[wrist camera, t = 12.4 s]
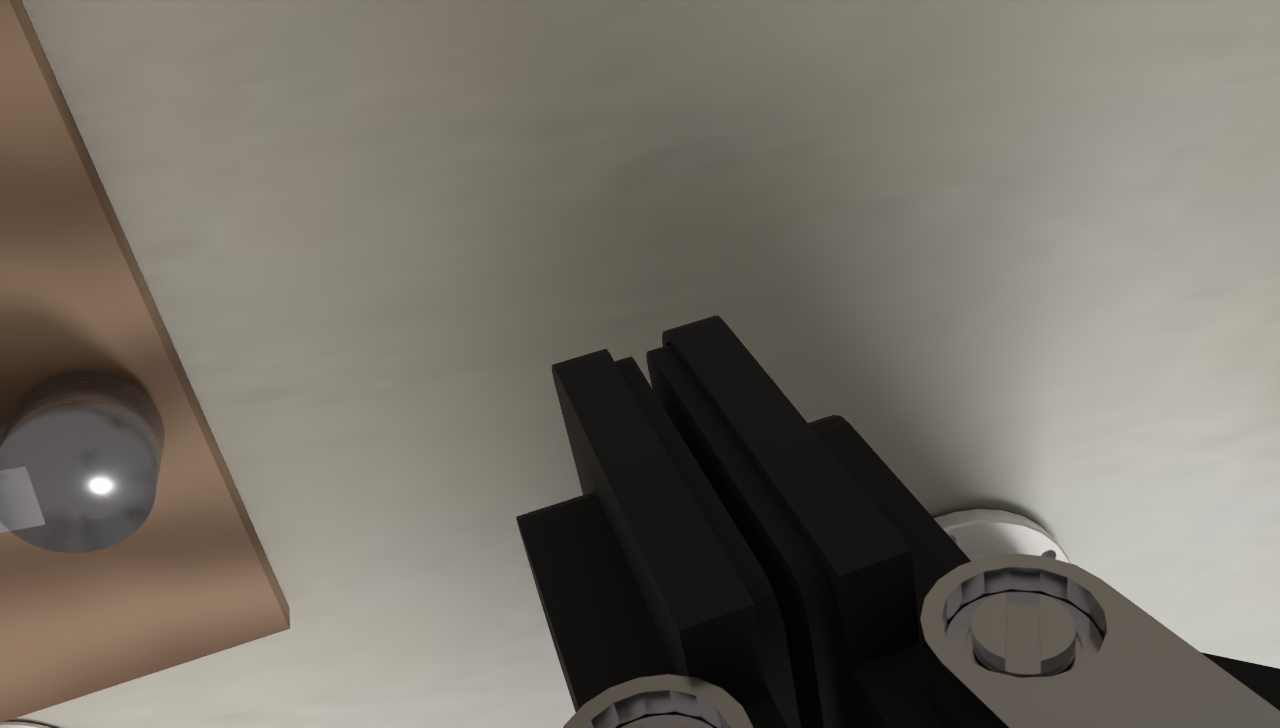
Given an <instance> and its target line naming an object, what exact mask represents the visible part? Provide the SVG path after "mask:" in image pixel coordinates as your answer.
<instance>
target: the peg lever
mask: <svg viewBox="0 0 1280 728" xmlns="http://www.w3.org/2000/svg"><path fill="white" fill-rule="evenodd" d="M164 440H165V430H164V425H163V421H162V418H161V416H160V413H159V412H158V410H157V408H156V406H155V405H154V404H153V402H152V401H151V400H150V399H149V398H148V397H147V396H146V395H145V394H144V393H143V392H142V391H141V390H139V389H138V388H137V387H135V386H134V385H132V384H130V383H129V382H126V381H124V380H122V379H120V378H117V377H114V376H111V375H107V374H103V373H97V372H71V373H65V374H61V375H57V376H54V377H51V378H49V379H47V380H44V381H42V382H40V383H39V384H37V385H36V386H34V387H33V388H32V389H30V390H29V391H28V392H27V393H26V394H25V395H24V396H23V397H22V398H21V399H20V401H19V402H18V404H17V405H16V407H15V409H14V411H13V414H12V416H11V419H10V421H9V423H8V425H1V426H0V533H2V532H7V531H11V532H12V533H13V534H14V535H16V536H17V537H19V538H20V539H22V540H24V541H26V542H28V543H30V544H32V545H35V546H37V547H40V548H43V549H47V550H51V551H57V552H64V553H84V552H91V551H96V550H101V549H104V548H107V547H110V546H113V545H115V544H117V543H119V542H121V541H123V540H125V539H126V538H128V537H129V536H131V535H132V534H133V533H134V532H136V531H137V530H138V529H139V528H140V527H141V526H142V524H143V523H144V522H145V520H146V519H147V518H148V516H149V514H150V512H151V510H152V508H153V505H154V501H155V496H156V490H157V484H158V478H159V472H160V465H161V459H162V453H163V447H164Z"/></svg>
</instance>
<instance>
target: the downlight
mask: <svg viewBox="0 0 1280 728" xmlns="http://www.w3.org/2000/svg"><path fill="white" fill-rule="evenodd" d="M0 728H51V727H47V726H44V725H39V724H34V723H26V722H1V723H0Z"/></svg>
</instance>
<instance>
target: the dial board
mask: <svg viewBox="0 0 1280 728" xmlns="http://www.w3.org/2000/svg"><path fill="white" fill-rule="evenodd" d="M71 372H97V373H103V374H107V375H111V376H114V377H117V378H120V379H122V380H124V381H126V382H129V383H130V384H132V385H134V386H135V387H137V388H138V389H139V390H141V391H142V392H143V393H144V394H145V395H146V396H147V397H148V398H149V399H150V400H151V401H152V402H153V404H154V405H155V406H156V408H157V410H158V412H159V413H160V416H161V418H162V421H163V425H164V430H165V440H164V447H163V453H162V459H161V465H160V472H159V478H158V484H157V490H156V496H155V501H154V505H153V508H152V510H151V512H150V514H149V516H148V518H147V519H146V520H145V522H144V523H143V524H142V526H141V527H140V528H139V529H138V530H137V531H136V532H134V533H133V534H132V535H131V536H129V537H128V538H126V539H125V540H123V541H121V542H119V543H117V544H115V545H113V546H110V547H107V548H104V549H101V550H96V551H91V552H84V553H64V552H57V551H51V550H47V549H43V548H40V547H37V546H35V545H32V544H30V543H28V542H26V541H24V540H22V539H20V538H19V537H17V536H16V535H14V534H13V533H12V532H11V531H7V532H2V533H0V723H1V722H4V721H8V720H11V719H14V718H17V717H20V716H23V715H26V714H29V713H32V712H35V711H38V710H41V709H44V708H47V707H51V706H54V705H57V704H60V703H63V702H66V701H69V700H72V699H75V698H78V697H81V696H84V695H87V694H90V693H93V692H97V691H100V690H103V689H106V688H109V687H112V686H115V685H118V684H121V683H124V682H127V681H130V680H133V679H136V678H140V677H143V676H146V675H149V674H152V673H155V672H158V671H161V670H164V669H167V668H170V667H173V666H176V665H179V664H182V663H186V662H189V661H192V660H195V659H198V658H201V657H204V656H207V655H210V654H213V653H216V652H219V651H222V650H225V649H229V648H232V647H235V646H238V645H241V644H244V643H247V642H250V641H253V640H256V639H259V638H262V637H265V636H268V635H271V634H275V633H278V632H281V631H284V630H287V629H290V618H289V606H288V604H287V602H286V599H285V597H284V595H283V593H282V590H281V588H280V586H279V584H278V581H277V579H276V577H275V574H274V572H273V570H272V568H271V565H270V563H269V561H268V559H267V556H266V554H265V552H264V550H263V547H262V545H261V543H260V540H259V538H258V536H257V534H256V531H255V529H254V527H253V525H252V522H251V520H250V518H249V516H248V513H247V511H246V509H245V506H244V504H243V502H242V500H241V497H240V495H239V493H238V491H237V488H236V486H235V484H234V482H233V479H232V477H231V475H230V472H229V470H228V468H227V466H226V463H225V461H224V459H223V457H222V454H221V452H220V450H219V448H218V445H217V443H216V441H215V438H214V436H213V434H212V432H211V429H210V427H209V425H208V423H207V420H206V418H205V416H204V414H203V411H202V409H201V407H200V404H199V402H198V400H197V398H196V395H195V393H194V391H193V389H192V386H191V384H190V382H189V380H188V377H187V375H186V373H185V371H184V368H183V366H182V364H181V361H180V359H179V357H178V355H177V352H176V350H175V348H174V346H173V343H172V341H171V339H170V337H169V334H168V332H167V330H166V327H165V325H164V323H163V321H162V318H161V316H160V314H159V312H158V309H157V307H156V305H155V303H154V300H153V298H152V296H151V293H150V291H149V289H148V287H147V284H146V282H145V280H144V278H143V275H142V273H141V271H140V269H139V266H138V264H137V262H136V259H135V257H134V255H133V253H132V250H131V248H130V246H129V244H128V241H127V239H126V237H125V235H124V232H123V230H122V228H121V225H120V223H119V221H118V219H117V216H116V214H115V212H114V210H113V207H112V205H111V203H110V201H109V198H108V196H107V194H106V191H105V189H104V187H103V185H102V182H101V180H100V178H99V176H98V173H97V171H96V169H95V167H94V164H93V162H92V160H91V157H90V155H89V153H88V151H87V148H86V146H85V144H84V142H83V139H82V137H81V135H80V133H79V130H78V128H77V126H76V123H75V121H74V119H73V117H72V114H71V112H70V110H69V108H68V105H67V103H66V101H65V99H64V96H63V94H62V92H61V89H60V87H59V85H58V83H57V80H56V78H55V76H54V74H53V71H52V69H51V67H50V65H49V62H48V60H47V58H46V55H45V53H44V51H43V49H42V46H41V44H40V42H39V40H38V37H37V35H36V33H35V31H34V28H33V26H32V24H31V21H30V19H29V17H28V15H27V12H26V10H25V8H24V6H23V3H22V1H21V0H0V426H1V425H8V423H9V421H10V419H11V416H12V414H13V411H14V409H15V407H16V405H17V404H18V402H19V401H20V399H21V398H22V397H23V396H24V395H25V394H26V393H27V392H28V391H29V390H30V389H32V388H33V387H34V386H36V385H37V384H39V383H40V382H42V381H44V380H47V379H49V378H51V377H54V376H57V375H61V374H65V373H71Z"/></svg>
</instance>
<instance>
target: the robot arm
mask: <svg viewBox="0 0 1280 728" xmlns="http://www.w3.org/2000/svg"><path fill="white" fill-rule="evenodd" d="M662 341H663V347H661V348H658V349H654V350H651V351H648V352H647V364H648V370H649V374H650V379H651V384H652V388H651V386H650V385H649V383H648V381H647V380H646V378H645V377H644V375H643V373H642V372H641V370H640V368H639V367H638V365H637V364H636V362H635V360H634V359H633V358H632V357H628V358H625V359H621V360H618V361H615V362H614V360H613V358H612V357H611V355H610V353H609V352H608V350H607V349H603V350H600V351H597V352H594V353H590V354H587V355H584V356H580V357H577V358H574V359H570V360H567V361H564V362H560V363H557V364H554V365H552V373H553V378H554V382H555V386H556V390H557V394H558V398H559V402H560V406H561V410H562V414H563V418H564V421H565V425H566V429H567V433H568V437H569V441H570V445H571V449H572V453H573V456H574V460H575V464H576V468H577V472H578V476H579V480H580V484H581V488H582V492H583V496H580V497H576V498H573V499H570V500H567V501H564V502H561V503H558V504H555V505H551V506H548V507H545V508H542V509H539V510H536V511H533V512H530V513H526V514H523V515H520V516H517V517H516V518H517V522H518V526H519V529H520V533H521V536H522V540H523V543H524V546H525V550H526V553H527V557H528V560H529V563H530V567H531V570H532V573H533V577H534V580H535V584H536V587H537V590H538V594H539V597H540V600H541V603H542V607H543V610H544V613H545V617H546V620H547V623H548V626H549V630H550V633H551V636H552V639H553V642H554V646H555V649H556V652H557V655H558V658H559V661H560V665H561V668H562V671H563V674H564V677H565V680H566V683H567V686H568V690H569V693H570V696H571V699H572V702H573V705H574V708H575V711H576V713H575V714H574V716H573V717H572V718H571V719H570V720H569V721H568V722H567V723H566V724H565V725H564V727H563V728H1280V669H1278V668H1273V667H1268V666H1263V665H1258V664H1254V663H1249V662H1244V661H1239V660H1234V659H1230V658H1225V657H1220V656H1215V655H1211V654H1206V653H1201V652H1199V651H1198V650H1196V649H1195V648H1194V647H1192V646H1191V645H1190V644H1188V643H1187V642H1185V641H1184V640H1183V639H1181V638H1180V637H1179V636H1177V635H1176V634H1175V633H1173V632H1172V631H1171V630H1169V629H1168V628H1166V627H1165V626H1164V625H1162V624H1161V623H1160V622H1158V621H1157V620H1156V619H1154V618H1153V617H1152V616H1150V615H1149V614H1147V613H1146V612H1145V611H1143V610H1142V609H1141V608H1139V607H1138V606H1137V605H1135V604H1134V603H1133V602H1131V601H1130V600H1128V599H1127V598H1126V597H1124V596H1123V595H1122V594H1120V593H1119V592H1118V591H1116V590H1115V589H1114V588H1112V587H1111V586H1109V585H1108V584H1107V583H1105V582H1104V581H1103V580H1101V579H1100V578H1098V577H1096V576H1094V575H1093V574H1091V573H1089V572H1087V571H1085V570H1084V569H1082V568H1080V567H1078V566H1076V565H1074V564H1071V563H1070V560H1069V558H1068V556H1067V554H1066V553H1065V552H1064V550H1063V549H1062V548H1061V546H1060V545H1059V544H1058V542H1057V541H1056V540H1055V539H1053V538H1052V537H1051V536H1050V535H1049V534H1048V533H1047V532H1046V531H1045V530H1044V529H1043V528H1042V527H1041V526H1040V525H1038V524H1036V523H1034V522H1033V521H1031V520H1029V519H1027V518H1025V517H1024V516H1021V515H1018V514H1014V513H1011V512H1007V511H1003V510H990V509H975V510H967V511H959V512H953V513H950V514H946V515H943V516H940V517H936V518H933V517H932V516H931V515H930V514H929V513H928V512H927V510H926V509H925V508H924V507H923V506H922V505H921V504H920V503H919V501H918V500H917V499H916V498H915V497H914V496H913V495H912V494H911V492H910V491H909V490H908V489H907V488H906V487H905V486H904V485H903V483H902V482H901V481H900V480H899V479H898V478H897V477H896V476H895V474H894V473H893V472H892V471H891V470H890V469H889V468H888V466H887V465H886V464H885V463H884V462H883V461H882V460H881V459H880V457H879V456H878V455H877V454H876V453H875V452H874V451H873V450H872V448H871V447H870V446H869V445H868V444H867V443H866V442H865V441H864V439H863V438H862V437H861V436H860V435H859V434H858V433H857V431H856V430H855V429H854V428H853V427H852V426H851V425H850V424H849V423H848V422H847V421H846V420H845V419H844V418H842V417H841V416H837V415H832V416H829V417H826V418H823V419H820V420H817V421H813V422H810V423H807V422H806V421H805V419H804V418H803V417H802V416H801V415H800V413H799V412H798V411H797V410H796V408H795V407H794V406H793V405H792V404H791V402H790V401H789V400H788V399H787V397H786V396H785V395H784V394H783V393H782V391H781V390H780V389H779V388H778V387H777V385H776V384H775V383H774V382H773V380H772V379H771V378H770V377H769V376H768V374H767V373H766V372H765V371H764V370H763V368H762V367H761V366H760V365H759V363H758V362H757V361H756V360H755V359H754V357H753V356H752V355H751V354H750V352H749V351H748V350H747V349H746V348H745V346H744V345H743V344H742V343H741V342H740V340H739V339H738V338H737V337H736V335H735V334H734V333H733V332H732V331H731V329H730V328H729V327H728V326H727V325H726V323H725V322H724V321H723V320H722V319H721V318H720V317H719V316H713V317H710V318H706V319H703V320H700V321H696V322H693V323H690V324H686V325H683V326H680V327H677V328H673V329H670V330H667V331H663V335H662ZM652 389H653V390H652Z"/></svg>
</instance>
